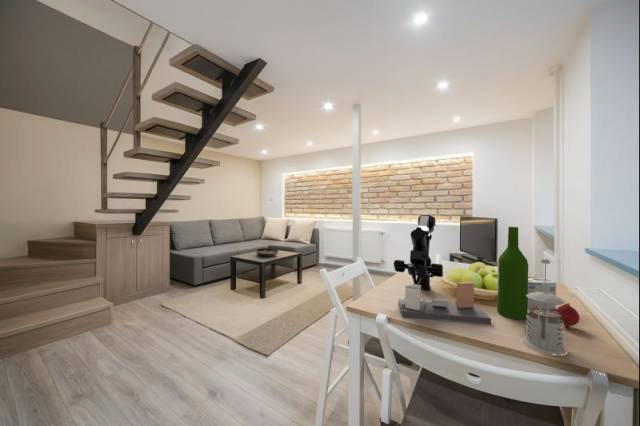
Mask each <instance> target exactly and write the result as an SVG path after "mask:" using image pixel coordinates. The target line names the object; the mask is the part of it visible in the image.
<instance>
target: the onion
mask: <svg viewBox="0 0 640 426" xmlns="http://www.w3.org/2000/svg"><path fill="white" fill-rule="evenodd" d="M570 304H571V303H569V302H564V304H562V305H559V306H558V307H556V310H555V312H557V313H559V314H560V315H561V316H562V317H561V318H560V319H561V320H562V321H563V322H564V327H566V326H568V327H567V328H569V326H570V327H572V326H575V325H576V326H577V324H579V322H580V319H581V317H580V314H579V311H577V310H576V308H574V307H572V306H571V305H570Z"/></svg>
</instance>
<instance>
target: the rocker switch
mask: <svg viewBox="0 0 640 426" xmlns="http://www.w3.org/2000/svg"><path fill="white" fill-rule="evenodd" d="M431 302H432V304H433V305H438V306H449V303H450V302H449V300H447V299H435V298H431Z"/></svg>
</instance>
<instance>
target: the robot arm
mask: <svg viewBox="0 0 640 426" xmlns="http://www.w3.org/2000/svg"><path fill="white" fill-rule="evenodd" d="M436 222H437V221H436V217H434V216H433V215H431V214H430V213H421V214H420V215H419V216H418V217H417V225H418V226H416V227H415V228H414V229H412V230H411V232H410V239H411V244H412V249H411V250H410V255H409V262H410V263H409V262H408V263H405V260H403V259H401V260H400V259H395V260H394V262H393V269H394V272H398V273H404V272H405V271H406V270H407V272H408V275H410V276H411V278H412V281H413V284H416V285H421V290H425V291H426V290H427V291H431V289H432V286H431V278H435V277H438V278H442V277H444V266H443V265H442V264H441V263H432V259H431V257H430V243H431V240H432V238H433V236H432V233H433V232H434V231H435V227H436V225H437V224H436Z"/></svg>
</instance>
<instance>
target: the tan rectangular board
mask: <svg viewBox="0 0 640 426" xmlns="http://www.w3.org/2000/svg"><path fill="white" fill-rule="evenodd" d="M474 299H475V282H473V281H469V282H468V281H466V282H465V281H463V282H457V281H456V303H457V305H456V306H457V308H458V309H459V308H474V305H475V300H474Z"/></svg>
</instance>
